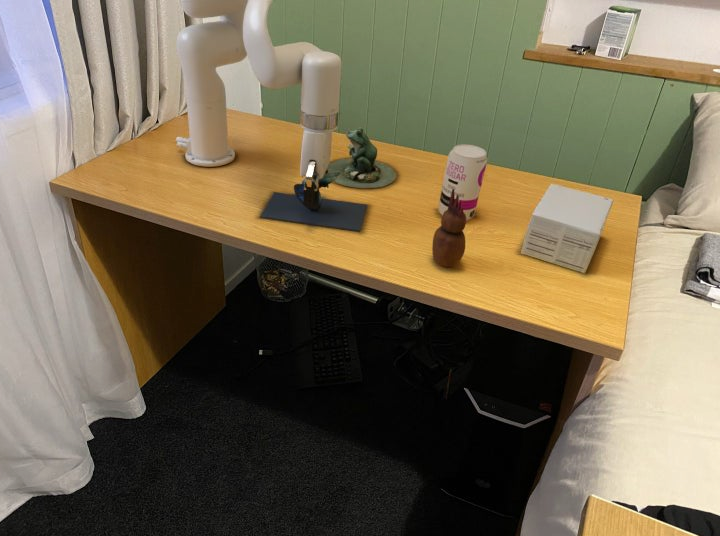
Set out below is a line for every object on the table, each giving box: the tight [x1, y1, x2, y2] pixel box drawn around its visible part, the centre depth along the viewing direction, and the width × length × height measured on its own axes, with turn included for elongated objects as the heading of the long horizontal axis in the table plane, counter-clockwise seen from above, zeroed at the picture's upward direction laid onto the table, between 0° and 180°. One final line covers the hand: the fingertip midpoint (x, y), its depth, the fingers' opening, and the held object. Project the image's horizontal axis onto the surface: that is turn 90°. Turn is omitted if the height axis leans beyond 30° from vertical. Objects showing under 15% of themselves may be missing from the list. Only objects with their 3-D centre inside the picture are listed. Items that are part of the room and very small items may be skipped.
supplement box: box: [520, 183, 615, 274], centre depth 117 cm, size 17×13×9 cm
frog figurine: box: [327, 127, 397, 189], centre depth 141 cm, size 18×18×12 cm
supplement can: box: [437, 143, 488, 221], centre depth 125 cm, size 8×8×15 cm
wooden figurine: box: [431, 189, 467, 268], centre depth 109 cm, size 7×6×15 cm
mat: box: [259, 191, 368, 233], centre depth 127 cm, size 22×12×1 cm, turn 79°
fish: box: [293, 171, 340, 211], centre depth 124 cm, size 4×10×10 cm, turn 78°
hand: (315, 195), depth 125 cm, fingers open, 9 cm apart
